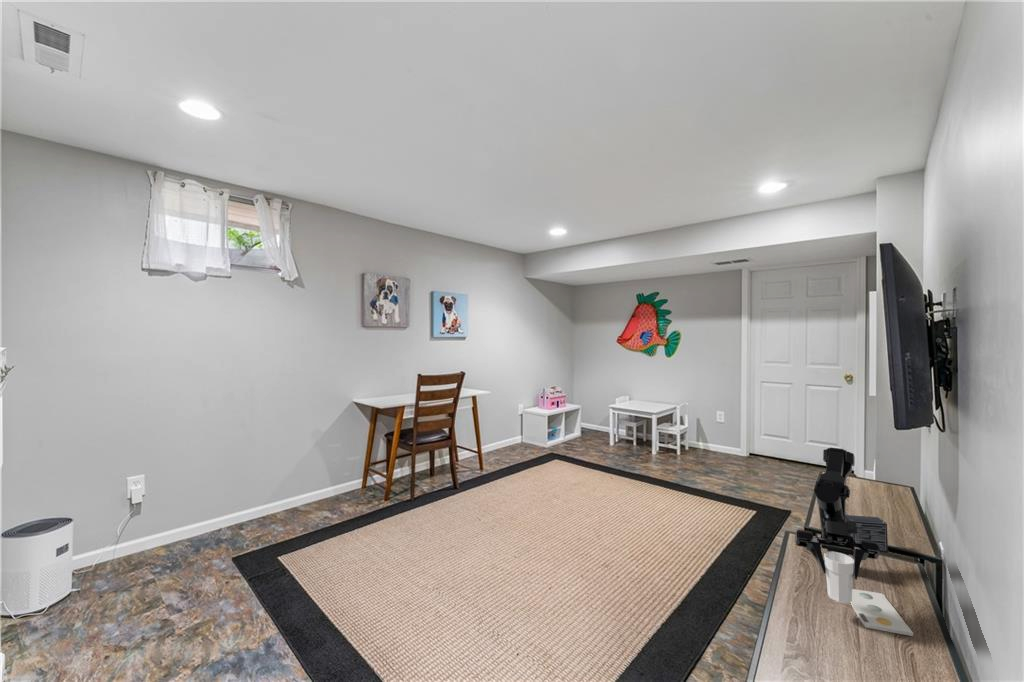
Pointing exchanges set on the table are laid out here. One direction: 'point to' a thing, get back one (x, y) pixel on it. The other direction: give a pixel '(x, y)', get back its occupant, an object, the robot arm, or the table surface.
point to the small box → (870, 530)
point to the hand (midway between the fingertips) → (840, 576)
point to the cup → (839, 576)
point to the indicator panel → (878, 612)
